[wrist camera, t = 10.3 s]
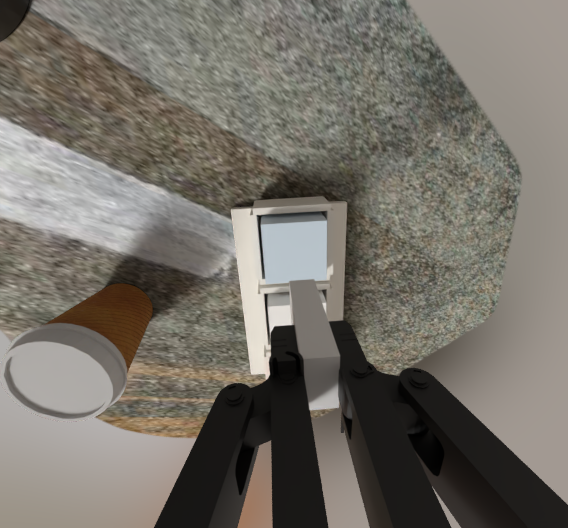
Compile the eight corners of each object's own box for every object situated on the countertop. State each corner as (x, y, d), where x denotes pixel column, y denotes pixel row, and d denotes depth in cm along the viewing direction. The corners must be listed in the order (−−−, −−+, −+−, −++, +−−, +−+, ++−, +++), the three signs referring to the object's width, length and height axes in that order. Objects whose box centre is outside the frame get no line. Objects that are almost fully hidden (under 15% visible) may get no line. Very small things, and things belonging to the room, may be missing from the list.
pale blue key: (261, 213, 28) (260, 224, 24) (319, 210, 28) (327, 220, 24) (266, 266, 30) (265, 284, 26) (319, 263, 30) (326, 279, 26)
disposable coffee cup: (163, 272, 33) (109, 337, 22) (169, 340, 36) (126, 426, 25) (75, 268, 32) (-27, 334, 21) (91, 338, 36) (11, 425, 25)
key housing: (231, 199, 30) (224, 210, 25) (344, 193, 30) (358, 202, 26) (252, 373, 39) (250, 404, 34) (339, 367, 39) (348, 396, 35)
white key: (267, 287, 31) (267, 306, 27) (319, 283, 31) (326, 302, 27) (271, 330, 33) (271, 353, 29) (319, 326, 33) (326, 349, 29)
